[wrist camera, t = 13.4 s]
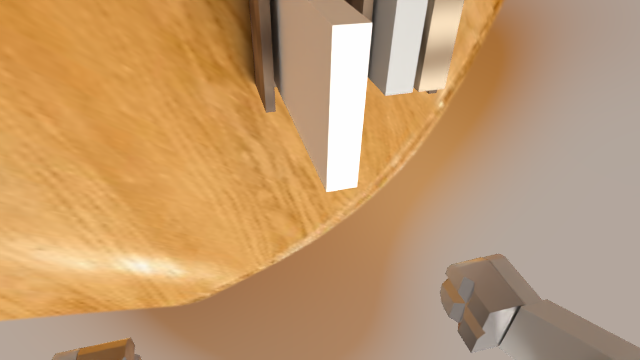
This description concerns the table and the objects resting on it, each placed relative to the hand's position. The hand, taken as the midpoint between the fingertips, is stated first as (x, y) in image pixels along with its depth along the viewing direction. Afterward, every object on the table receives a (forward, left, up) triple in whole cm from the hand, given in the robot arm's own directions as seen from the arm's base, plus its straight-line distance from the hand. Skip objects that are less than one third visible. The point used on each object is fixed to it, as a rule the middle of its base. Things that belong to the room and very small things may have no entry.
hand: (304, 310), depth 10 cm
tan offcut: (+4, +21, -38) cm, 43 cm away
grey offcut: (+4, +17, -38) cm, 42 cm away
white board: (+4, +7, -38) cm, 39 cm away
